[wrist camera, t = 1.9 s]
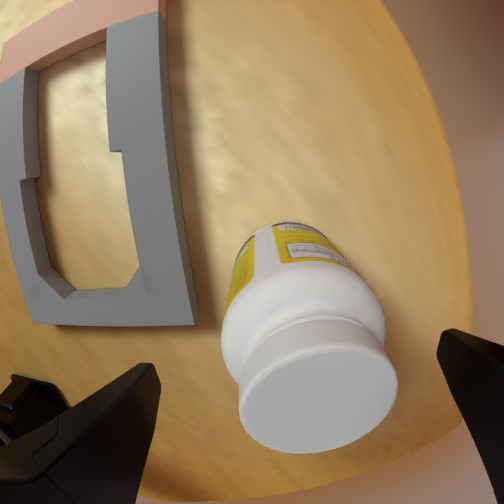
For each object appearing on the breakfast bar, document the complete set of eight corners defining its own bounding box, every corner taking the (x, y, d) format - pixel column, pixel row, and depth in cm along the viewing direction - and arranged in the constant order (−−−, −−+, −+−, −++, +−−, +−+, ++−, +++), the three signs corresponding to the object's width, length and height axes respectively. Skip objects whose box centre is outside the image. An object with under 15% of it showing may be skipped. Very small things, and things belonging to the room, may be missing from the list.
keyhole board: (199, 311, 16) (194, 324, 15) (44, 313, 17) (33, 323, 15) (166, -20, 11) (158, -32, 9) (16, 47, 11) (3, 43, 10)
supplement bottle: (261, 329, 16) (262, 481, 7) (217, 246, 15) (158, 368, 6) (349, 291, 16) (428, 421, 6) (314, 201, 14) (405, 267, 5)
